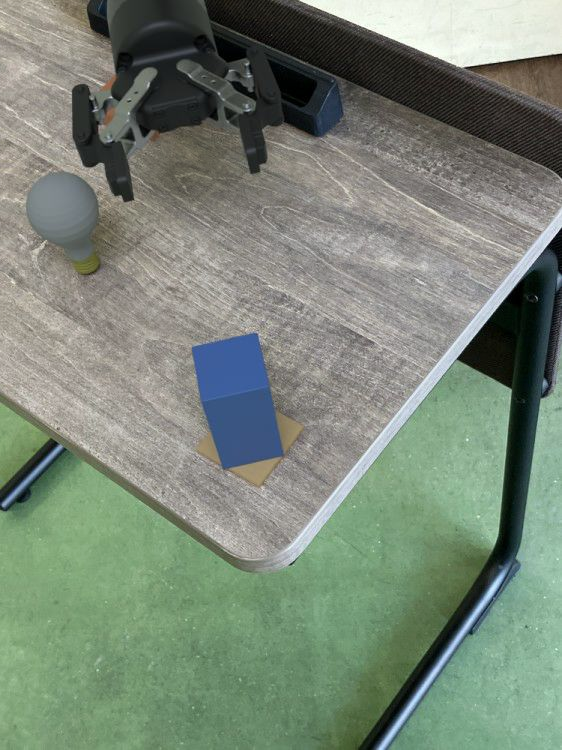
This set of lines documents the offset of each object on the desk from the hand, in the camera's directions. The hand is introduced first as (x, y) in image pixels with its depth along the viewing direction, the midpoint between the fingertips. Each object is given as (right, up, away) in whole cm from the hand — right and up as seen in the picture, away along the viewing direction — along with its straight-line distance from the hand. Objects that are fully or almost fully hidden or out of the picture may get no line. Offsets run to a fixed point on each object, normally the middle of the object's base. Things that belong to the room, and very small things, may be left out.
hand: (190, 178), depth 62 cm
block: (+4, -17, +6) cm, 19 cm away
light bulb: (-10, -4, +17) cm, 21 cm away
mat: (+4, -17, +6) cm, 19 cm away
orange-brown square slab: (-7, +13, +28) cm, 32 cm away
